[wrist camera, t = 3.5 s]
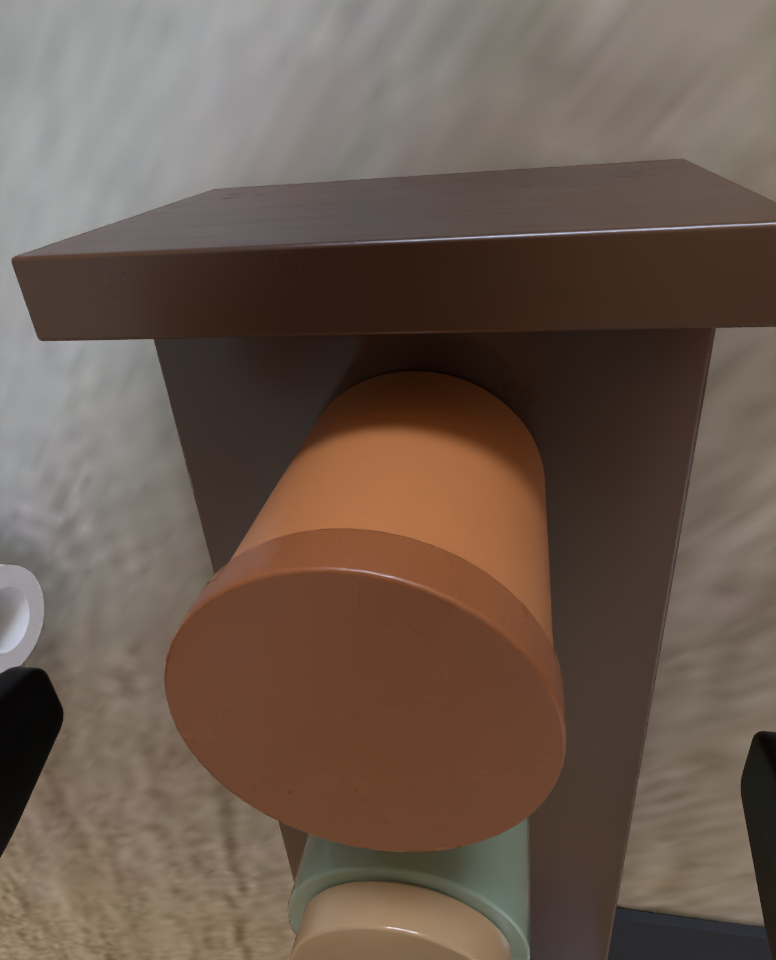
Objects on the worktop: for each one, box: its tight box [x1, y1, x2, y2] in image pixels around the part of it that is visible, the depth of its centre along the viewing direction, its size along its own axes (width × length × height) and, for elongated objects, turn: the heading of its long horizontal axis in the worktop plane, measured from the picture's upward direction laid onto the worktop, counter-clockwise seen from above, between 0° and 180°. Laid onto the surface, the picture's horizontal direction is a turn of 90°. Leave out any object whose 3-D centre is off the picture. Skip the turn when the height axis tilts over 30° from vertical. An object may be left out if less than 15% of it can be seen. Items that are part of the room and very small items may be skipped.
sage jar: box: [288, 816, 531, 960], centre depth 14 cm, size 5×5×6 cm
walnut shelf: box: [12, 159, 776, 960], centre depth 17 cm, size 10×24×7 cm, turn 4°
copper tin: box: [165, 371, 567, 852], centre depth 11 cm, size 5×5×6 cm
